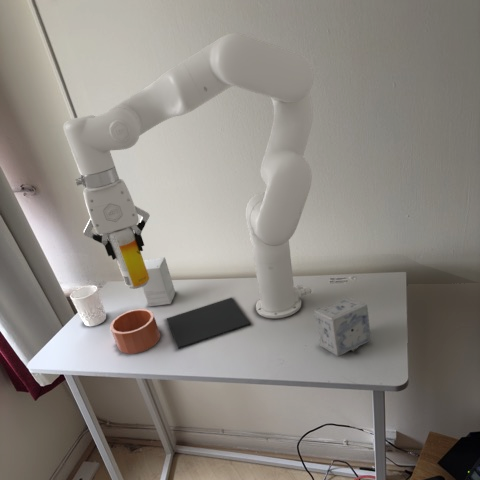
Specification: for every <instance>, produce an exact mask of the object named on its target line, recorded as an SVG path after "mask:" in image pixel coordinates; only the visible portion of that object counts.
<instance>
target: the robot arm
mask: <svg viewBox="0 0 480 480" xmlns="http://www.w3.org/2000/svg"><path fill="white" fill-rule="evenodd" d="M314 75H315V74H314V69H313V66H312V64H311V62H310V60H309V59H308V58H307V57H306V56H305V55H303V54H301V53H299V52H297V51H293V50H291V49H287V48H285V47H281V46H279V45H277V44H272V43H271V42H270V43H269V42H266V41H264V40H261V39H258V38H255V37H253V36H250V35H247V34H244V33H240V32H230V33H228V34H224V35H222V36H221V37H219V38H217V39H216V40H214V41H213V42H211V43H209V44H208V45H206V46H205V47H203V48H201V49H200V50H198V51H197V52H195V53H193V54H192V55H190V56H189V57H187V58H186V59H184V60H182V61H181V62H179V63H178V64H176V65H175V66H173V67H171V68H170V69H168V70H167V71H165V72H163V73H162V74H161V75H159V76H158V77H157V78H156V79H155V80H154V81H153V82H151V83H150V84H148V85H146V86H145V87H143V88H142V89H140V90H139V91H137V92H136V93H134V94H132V95H131V96H130V97H128V98H126V99H124V100H123V101H121V102H120V103H118V104H116V105H115V106H113V107H112V108H110V109H109V110H108V111H107V112H104V113H103V114H99V115H97V116H96V115H92V114H91V115H83V116H79V117H74V118H71V119H69V120H66V121H65V122H64V123H63V129H62V130H63V133H64V135H65V138H66V141H67V143H68V147H69V148H70V151H71V154H72V156H73V159H74V161H75V164H76V167H77V169H78V172H79V174H80V176H79V177H78V178H76V179H75V183H76V185H77V187H78V186H83V187H84V189H83V191H82V193H83V198H84V202H85V206H86V209H87V212H88V215H89V220H88V221H87V223H86V226H85V228H84V229H83V235H84V236H86V237H87V238H90V239H93V241H96V242H97V243H100V244H101V245H103V247H104V248H105V251H106V254H107V256H108V257H111V258H112V260H113V261H114V260H116V258H115V255H114V252H113V250H112V247H111V244H110V242H109V239H108V233H111V232H114V231H118V230H121V229H124V228H128V227H131V228H132V229H133V231H134V234H135V237H136V240H137V243H138V246H139V249H140V252H143V251H144V249H143V247H144V246H145V243H144V239H143V236H142V232H143V230H144V228H145V227H146V224H147V223H148V220H149V219H150V213H149V212H148V211H146V210H144V209H142V208H141V207H138V206H137V205H135V204H134V201H133V197H132V195H131V193H130V191H129V188H128V185H127V184H126V183H125V180H124V179H122V178H120V177H119V174H118V170H117V169H116V165H115V163H114V160H113V159H114V158H113V156H112V153H111V152H112V151H122V150H123V151H124V150H129V149H130V148H133V147H134V146H136V144H137V142H138V141H139V139H140V136H141V135H143V134H145V133H146V132H147V131H149V130H151V129H153V128H154V127H156V126H158V125H160V124H161V123H163V122H165V121H167V120H169V119H173V118H175V117H179V116H180V117H181V116H184V115H186V114H189V113H192V112H193V111H195V110H196V109H197V108H199V107H201V106H202V105H204V104H206V103H207V102H209V101H211V100H212V99H214V98H216V97H217V96H219V95H220V94H222V93H224V92H225V91H227V90H228V89H230V88H232V87H237V88H239V89H242V90H244V91H245V90H246V91H248V92H251V93H255V94H257V95H261V96H265V97H268V98H270V100H271V102H272V107H273V120H272V124H271V125H272V126H271V130H270V134H269V138H268V141H267V144H266V147H265V152H264V154H263V158H262V161H261V164H260V176H261V180H262V181H263V183H264V184H265V185H266V187H265V191H261V192H258V193H256V194H254V195H253V196H252V197H251V198H250V199H249V200H248V202H247V204H246V207H245V221H246V226H247V231H248V235H249V239H250V244H251V250H252V255H253V263H254V269H255V275H256V281H257V287H258V293H259V299H258V300H257V301H256V303H255V310H256V313H257V314H259V315H260V316H261V317H264V318H267V319H284V318H287V317H290V316H292V315H294V314H296V313H297V312H298V311H299V310H300V309H301V307H302V299H301V298H302V296H305V295H309V294H311V293H312V288H311V286H309V285H308V286H305V287H303V285H302V284H300V285H297V286H295V284H294V275H293V265H292V257H291V249H290V248H291V246H290V239H291V238H292V237H293V236H294V235H295V233H296V230H297V228H298V225H299V222H300V220H301V216H302V214H303V211H304V208H305V206H306V202H307V199H308V196H309V193H310V190H311V186H312V175H313V174H312V168H311V165H310V164H309V162H308V161H307V159H306V158H305V157H304V155H305V151H306V147H307V144H308V141H309V136H310V134H311V129H312V125H313V115H314V109H313V102H312V96H311V93H310V91H311V89H312V88H313V84H314V78H315V77H314ZM139 216H140V217H141V218H140V220H139ZM93 229H94V231H95V232H94V231H92V230H93Z"/></svg>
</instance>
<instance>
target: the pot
mask: <svg viewBox="0 0 480 480" xmlns="http://www.w3.org/2000/svg"><path fill="white" fill-rule="evenodd" d="M109 329H110V331H111V334H112V336H113V340H114V342H115V345H116V347H117V349H118V350H119V351H120V352H121V353H123V354H128V355H133V354H140V353H142V352H145V351H148V350H149V349H151V348H153V347H154V346H155V345H156V344H157V343H158V342H159V341H160V338H161V333H160V329H159V327H158V324H157V321H156V318H155V315H154V312H153V311H152V310H150V309H149V308H148V309H147V308H137V309H131V310H128V311H125V312H123V313H121V314H119V315H118V316H116V317H115V318H114V319H113V320H112V321H111V323H110V324H109Z"/></svg>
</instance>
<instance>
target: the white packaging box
mask: <svg viewBox="0 0 480 480" xmlns="http://www.w3.org/2000/svg"><path fill="white" fill-rule="evenodd" d="M143 261H144V264H145V267H146V270H147V273H148V275H149V280H148V283H147V284H146V285H145V286H143V287H141V288H142V290H143V294H144V296H145V299H146V302H147V305H148V307H155V306H163V305H165V306H166V305H171V304H172V303H173V302H172V301H173V300H174V297H175V296H176V290H175V287H174V283H173V280H172V277H171V272H170V269H169V265H168V262H167V260H166V257H165V256H164V257H156V258H150V259H143Z"/></svg>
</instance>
